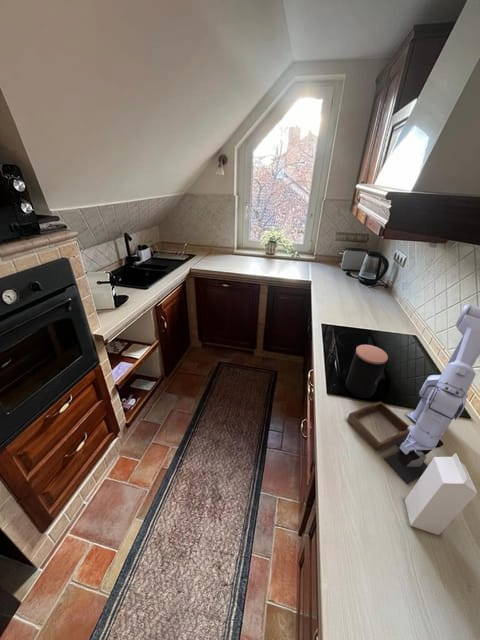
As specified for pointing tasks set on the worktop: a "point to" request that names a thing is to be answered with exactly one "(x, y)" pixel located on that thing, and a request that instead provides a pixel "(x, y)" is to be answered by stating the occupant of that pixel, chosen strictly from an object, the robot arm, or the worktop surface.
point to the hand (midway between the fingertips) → (411, 457)
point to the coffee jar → (366, 370)
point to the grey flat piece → (417, 462)
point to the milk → (440, 494)
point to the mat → (405, 468)
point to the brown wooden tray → (367, 435)
